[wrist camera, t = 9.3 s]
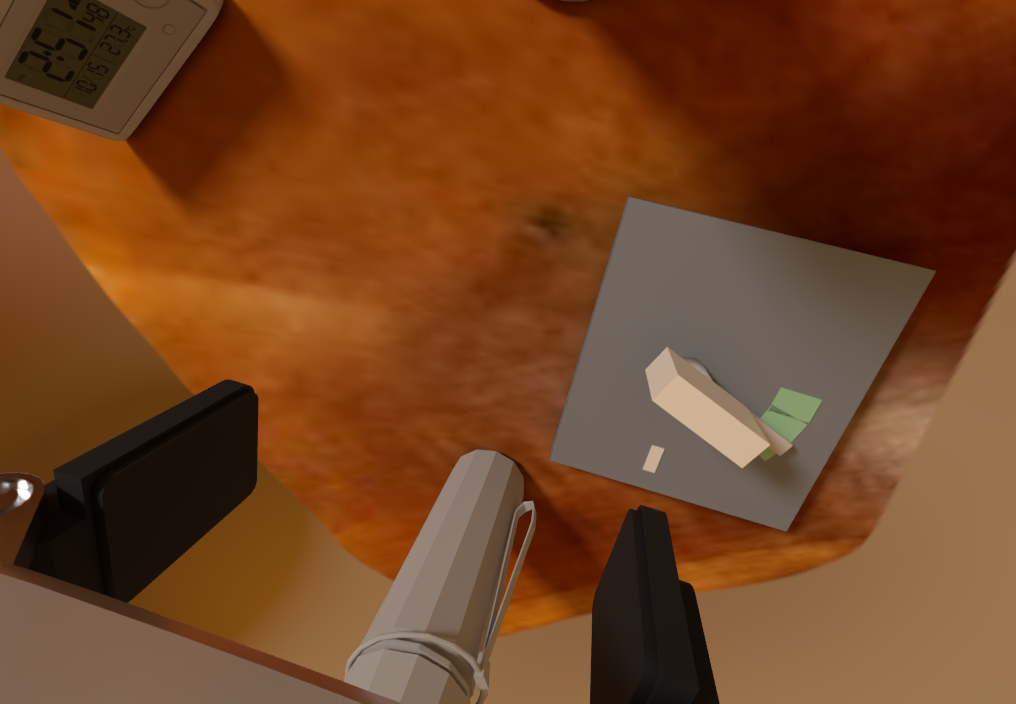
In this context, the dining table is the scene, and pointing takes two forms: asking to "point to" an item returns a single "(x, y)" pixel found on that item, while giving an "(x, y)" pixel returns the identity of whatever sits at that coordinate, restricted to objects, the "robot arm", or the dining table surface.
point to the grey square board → (730, 354)
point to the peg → (710, 409)
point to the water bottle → (449, 591)
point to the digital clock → (96, 57)
